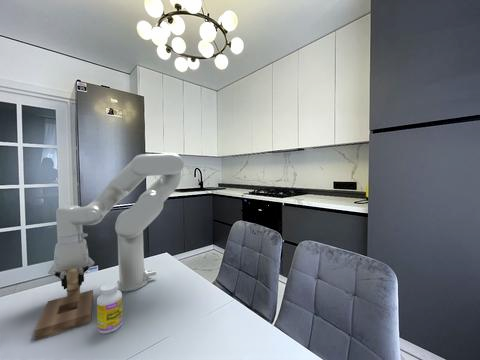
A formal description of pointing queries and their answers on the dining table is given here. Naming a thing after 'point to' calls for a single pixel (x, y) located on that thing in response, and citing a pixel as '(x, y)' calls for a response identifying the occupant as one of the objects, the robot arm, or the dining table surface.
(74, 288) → the peg
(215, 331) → the dining table surface
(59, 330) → the board
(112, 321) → the supplement bottle
